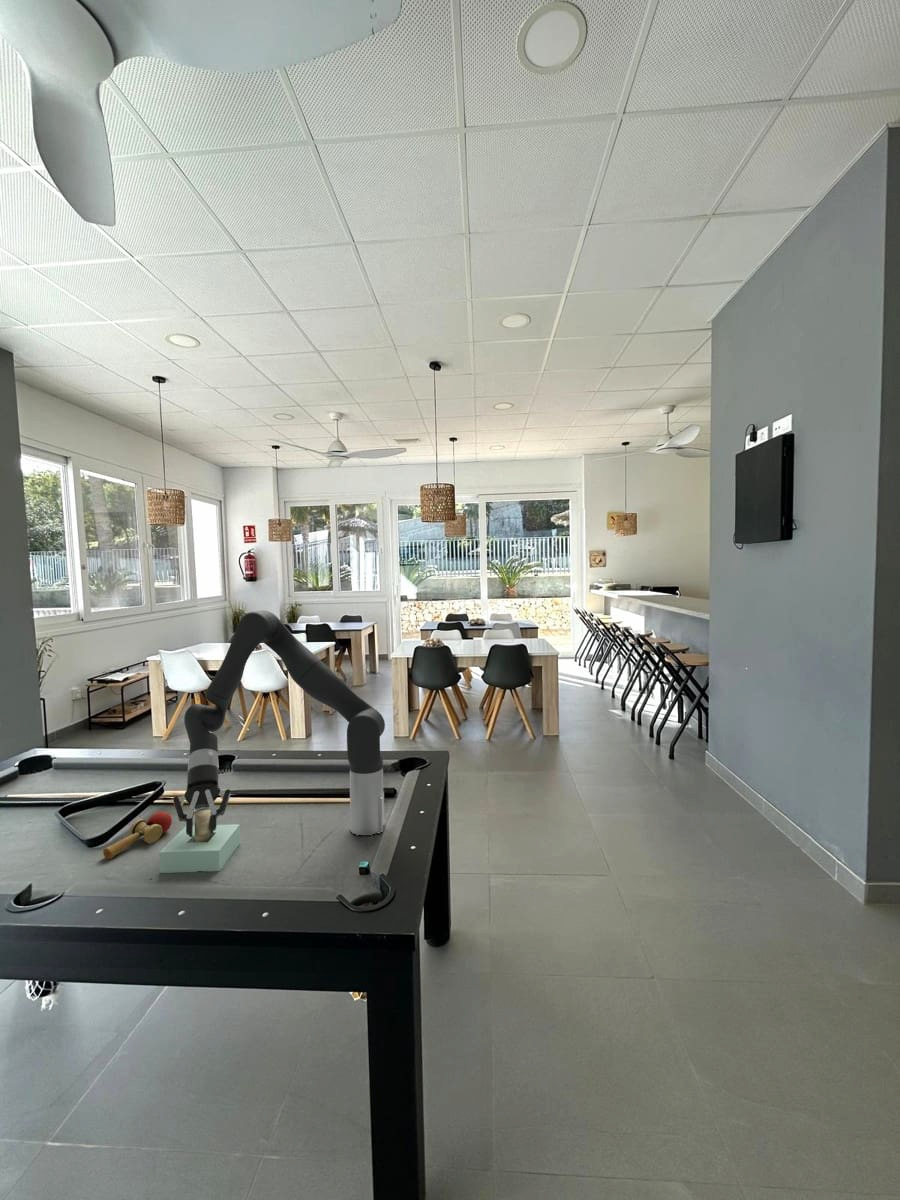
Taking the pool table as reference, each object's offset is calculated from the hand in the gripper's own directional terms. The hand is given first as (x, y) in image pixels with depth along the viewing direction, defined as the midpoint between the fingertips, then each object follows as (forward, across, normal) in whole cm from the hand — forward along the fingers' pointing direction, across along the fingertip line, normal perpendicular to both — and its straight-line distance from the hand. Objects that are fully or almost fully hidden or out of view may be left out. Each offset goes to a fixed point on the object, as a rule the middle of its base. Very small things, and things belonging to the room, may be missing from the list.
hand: (201, 833), depth 129 cm
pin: (+2, 0, +5) cm, 6 cm away
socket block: (+3, 0, +6) cm, 7 cm away
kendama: (-7, -16, +17) cm, 24 cm away
